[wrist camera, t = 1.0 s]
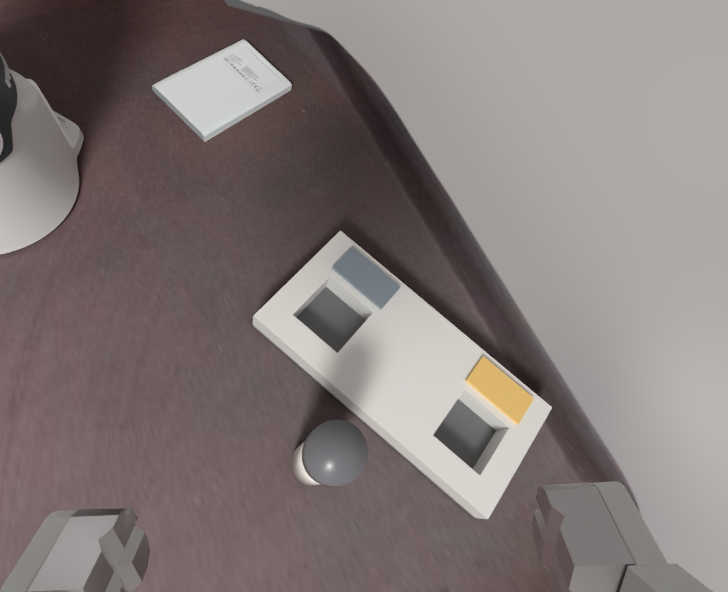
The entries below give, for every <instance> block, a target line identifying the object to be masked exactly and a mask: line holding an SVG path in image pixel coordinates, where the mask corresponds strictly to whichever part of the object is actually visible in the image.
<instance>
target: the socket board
mask: <svg viewBox="0 0 728 592" xmlns="http://www.w3.org/2000/svg"><path fill="white" fill-rule="evenodd" d="M253 327H254V328H255V329H256V330H257V331H258V332H259V333H260V334H262V335H263V336H264V337H265V338H266V339H267V340H269V341H270V342H271V343H272V344H273V345H274V346H275V347H277V348H278V349H279V350H280V351H281V352H282V353H284V354H285V355H286V356H287V357H288V358H289V359H290V360H292V361H293V362H294V363H295V364H296V365H297V366H298V367H300V368H301V369H302V370H303V371H304V372H305V373H307V374H308V375H309V376H310V377H311V378H312V379H313V380H315V381H316V382H317V383H318V384H319V385H320V386H322V387H323V388H324V389H325V390H326V391H327V392H328V393H330V394H331V395H332V396H333V397H334V398H335V399H336V400H338V401H339V402H340V403H341V404H342V405H343V406H345V407H346V408H347V409H348V410H349V411H350V412H351V413H353V414H354V415H355V416H356V417H357V418H358V419H360V420H361V421H362V422H363V423H364V424H365V425H366V426H368V427H369V428H370V429H371V430H372V431H373V432H374V433H376V434H377V435H378V436H379V437H380V438H381V439H383V440H384V441H385V442H386V443H387V444H388V445H389V446H391V447H392V448H393V449H394V450H395V451H396V452H398V453H399V454H400V455H401V456H402V457H403V458H404V459H406V460H407V461H408V462H409V463H410V464H411V465H412V466H414V467H415V468H416V469H417V470H418V471H419V472H421V473H422V474H423V475H424V476H425V477H426V478H427V479H429V480H430V481H431V482H432V483H433V484H434V485H436V486H437V487H438V488H439V489H440V490H441V491H442V492H444V493H445V494H446V495H447V496H448V497H449V498H450V499H452V500H453V501H454V502H455V503H456V504H457V505H459V506H460V507H461V508H462V509H463V510H464V511H465V512H467V513H468V514H469V515H470V516H471V517H472V518H481V519H489V517H490V515H491V513H492V512H493V510H494V508H495V506H496V505H497V503H498V501H499V499H500V498H501V496H502V494H503V492H504V491H505V489H506V487H507V485H508V484H509V482H510V480H511V478H512V477H513V475H514V473H515V471H516V470H517V468H518V466H519V465H520V463H521V461H522V459H523V458H524V456H525V454H526V452H527V451H528V449H529V447H530V445H531V444H532V442H533V440H534V438H535V437H536V435H537V433H538V431H539V430H540V428H541V426H542V424H543V423H544V421H545V419H546V417H547V416H548V414H549V412H550V410H551V409H552V407H551V406H550V405H549V404H547V403H546V402H545V401H544V400H543V399H541V398H540V397H539V396H538V395H537V394H535V393H534V392H533V391H532V390H531V389H529V388H528V387H527V386H526V385H525V384H523V383H522V382H521V381H520V380H519V379H517V378H516V377H515V376H514V375H513V374H511V373H510V372H509V371H508V370H507V369H505V368H504V367H503V366H502V365H501V364H499V363H498V362H497V361H496V360H495V359H494V358H492V357H491V356H490V355H489V354H488V353H486V352H485V351H484V350H483V349H482V348H480V347H479V346H478V345H477V344H476V343H474V342H473V341H472V340H471V339H470V338H468V337H467V336H466V335H465V334H464V333H462V332H461V331H460V330H459V329H458V328H456V327H455V326H454V325H453V324H452V323H450V322H449V321H448V320H447V319H446V318H444V317H443V316H442V315H441V314H440V313H438V312H437V311H436V310H435V309H434V308H433V307H431V306H430V305H429V304H428V303H427V302H425V301H424V300H423V299H422V298H421V297H419V296H418V295H417V294H416V293H415V292H413V291H412V290H411V289H410V288H409V287H407V286H406V285H405V284H404V283H403V282H401V281H400V280H399V279H398V278H397V277H395V276H394V275H393V274H392V273H391V272H389V271H388V270H387V269H386V268H385V267H383V266H382V265H381V264H380V263H379V262H377V261H376V260H375V259H374V258H373V257H371V256H370V255H369V254H368V253H367V252H366V251H364V250H363V249H362V248H361V247H360V246H358V245H357V244H356V243H355V242H354V241H352V240H351V239H350V238H349V237H348V236H346V235H345V234H344V233H343V232H342V231H339V232H338V233H337V234H336V235H335V236H334V237H333V238H332V239H331V240H330V241H329V242H328V243H327V244H326V245H325V246H324V247H323V248H322V249H321V250H320V251H319V252H318V253H317V254H316V255H315V256H314V257H313V258H312V259H311V260H310V261H309V262H308V263H307V264H306V265H305V266H304V267H303V268H302V269H301V270H300V271H299V272H298V273H297V274H296V275H295V276H293V277H292V278H291V279H290V280H289V281H288V282H287V283H286V284H285V285H284V286H283V287H282V288H281V289H280V290H279V291H278V292H277V293H276V294H275V295H274V296H273V297H272V298H271V299H270V300H269V301H268V302H267V303H266V304H265V305H264V306H263V307H262V308H261V309H260V310H259V311H258V312H257V313H256V314H255V315H254V316H253Z"/></svg>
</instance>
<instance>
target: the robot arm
mask: <svg viewBox="0 0 728 592" xmlns="http://www.w3.org/2000/svg"><path fill="white" fill-rule="evenodd" d="M83 139H84V136H83V133H82V131H81V130H80V128H79V127H78V125H76V124H75V123H74V122H72V121H70V120H68V119H67V118H65V117H63V116H62V115H60V114H58V113H56V112H55V111H53V110H52V109H51V107H50V105H49V104H48V102H47V100H46V99H45V97H44V95H43V94H42V92H41V90H40V89H39V87H38V86H37V84H36V83H35V82H34V81H33V80H31V79H26V78H24V77H23V76H21V75H20V74H18V73H17V72H15V71H13V70H11V69H9V68H8V66H7V63H6V61H5V59H4V58H3V56H2V54H1V52H0V254H4V253H8V252H12V251H15V250H18V249H21V248H24V247H26V246H28V245H30V244H32V243H34V242H36V241H38V240H40V239H42V238H43V237H45V236H46V235H48V234H49V233H50V232H52V231H53V230H54V229H55V228H56V227H57V226H58V225H59V224H60V223H61V222H62V221H63V220H64V219H65V218H66V216H67V215H68V214H69V212H70V210H71V209H72V207H73V205H74V203H75V200H76V197H77V194H78V189H79V174H78V167H77V156H78V154H79V152H80V149H81V147H82V144H83ZM536 499H537V502H538V505H539V507H540V508H539V509H537V510H536V511H535V512H534V516H533V533H534V540H535V545H536V549H537V553H538V556H539V559H540V562H541V564H542V565H543V566H545V567H546V568H547V569H548V570H549V571H550V572H551V574H550V580H549V585H548V587H549V590H550V592H712V591H711V590H710V589H708V588H707V587H706V586H704V585H703V584H702V583H701V582H699V581H698V580H697V579H696V578H694V577H693V576H692V575H690V574H689V573H688V572H687V571H685V570H684V569H683V568H681V567H680V566H679V565H678V564H668V563H667V561H666V559H665V558H664V556H663V554H662V552H661V550H660V549H659V547H658V545H657V543H656V542H655V540H654V538H653V536H652V534H651V533H650V531H649V529H648V527H647V525H646V524H645V522H644V520H643V518H642V517H641V515H640V513H639V511H638V509H637V508H636V506H635V504H634V502H633V500H632V499H631V497H630V495H629V493H628V492H627V490H626V488H625V486H623V485H622V484H621V483H620V482H601V483H590V482H588V483H574V484H559V485H544V486H540V487H539V488H538V490H537V496H536ZM137 519H138V518H137V516H136V514H135V513H134V511H133V509H132V508H119V509H88V510H61V511H54V512H52V513H51V514H50V515H49V516H48V517H46V518H45V520H44V521H43V523H42V524H41V526H40V528H39V529H38V531H37V532H36V534H35V536H34V537H33V539H32V540H31V542H30V543H29V545H28V547H27V548H26V550H25V551H24V553H23V554H22V556H21V558H20V559H19V561H18V562H17V564H16V566H15V567H14V569H13V570H12V572H11V573H10V575H9V577H8V578H7V580H6V581H5V583H4V585H3V586H2V588H1V589H0V592H132V591H133V590H134V589H135V588H136V587H137V586H138V585H139V584H140V583H141V582H142V580H143V577H144V574H145V572H146V569H147V566H148V559H149V552H150V549H149V542H148V538H147V536H146V534H145V532H144V531H142V530H140V529H139V528H137V527H136V526H135V523H136V521H137Z"/></svg>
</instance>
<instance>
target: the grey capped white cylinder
mask: <svg viewBox="0 0 728 592" xmlns="http://www.w3.org/2000/svg"><path fill="white" fill-rule="evenodd" d="M367 458H368V448H367V443H366V440H365V438H364V436H363V434H362V433H361V431H360V430H359V429H358V428H357V427H356V426H354V425H353V424H351V423H350V422H347V421H344V420H329V421H326V422H324V423H322V424H320V425H319V426H318V427H316V428H315V429H314V430H313V431H312V432H311V433H310V434H309V435H308V437H307V438H306V440H305V441H304V442H303V443H302V444H301V445H300V446H298V447H297V448H296V450H295V451H294V453H293V455H292V459H291V469H292V472H293V474H294V476H295V477H296V479H297V480H298V481H300V482H301V483H303V484H306V485H320V484H321V485H325V486H341V485H345V484H348V483H350V482H352V481H353V480H355V479H356V478H357V477H358V476H359V475H360V474H361V473H362V471H363V470H364V467H365V465H366V462H367Z"/></svg>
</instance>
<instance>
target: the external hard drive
mask: <svg viewBox="0 0 728 592" xmlns="http://www.w3.org/2000/svg"><path fill="white" fill-rule="evenodd" d="M152 88H153V91H154V92H155V93H156V94H157V95H158V96H159V97H160V98H161V99H162V100H163V101H164V102H165V103H166V104H167V105H168V106H169V107H170V108H171V109H172V110H173V111H174V112H175V113H176V114H177V115H178V116H179V117H180V118H181V119H182V120H183V121H184V122H185V123H186V124H187V125H188V126H189V127H190V128H191V129H192V130H193V131H194V132H195V133H196V134H197V135H198V136H199V137H200V138H201V139H202V140H203V141H204V142H206V141H207V140H209V139H211V138H212V137H214V136H216V135H217V134H219V133H221V132H222V131H224V130H226V129H227V128H229V127H231V126H232V125H234V124H236V123H237V122H239V121H241V120H242V119H244V118H246V117H247V116H249V115H251V114H252V113H254V112H255V111H257V110H259V109H261V108H262V107H264V106H266V105H267V104H269V103H270V102H272V101H274V100H275V99H277V98H279V97H280V96H282V95H284V94H285V93H287V92H289V91H290V90H291V88H292V84H291V83H290V81H289V80H287V79H286V78H285V77H284V76H283V75H282V74H281V73H280V72H279V71H278V70H277V69H276V68H275V67H273V66H272V65H271V64H270V63H269V62H268V61H267V60H266V59H265V58H264V57H263V56H262V55H261V54H260V53H259V52H258V51H256V50H255V49H254V48H253V47H252V46H251V45H250V44H249V43H248V42H247V41H245V40H241V41H239V42H237V43H235V44H233V45H231V46H229V47H227V48H225V49H223V50H221V51H219V52H217V53H215V54H213V55H211V56H209V57H207V58H205V59H203V60H201V61H199V62H197V63H195V64H193V65H191V66H189V67H187V68H185V69H183V70H181V71H179V72H177V73H175V74H173V75H171V76H169V77H167V78H165V79H164V80H162V81H160V82H158V83H156V84H154V85H152Z"/></svg>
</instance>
